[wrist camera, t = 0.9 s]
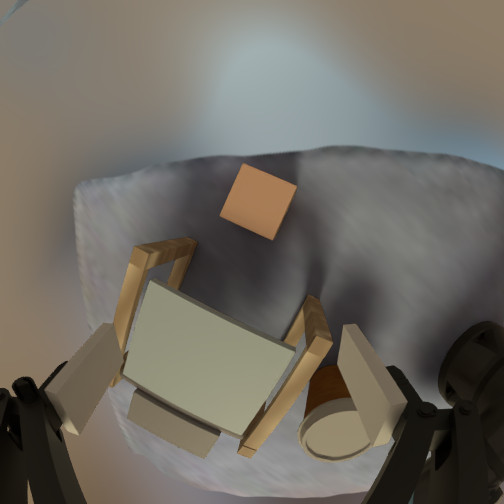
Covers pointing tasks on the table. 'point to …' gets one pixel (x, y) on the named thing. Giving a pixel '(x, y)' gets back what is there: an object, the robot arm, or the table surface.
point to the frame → (306, 320)
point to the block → (258, 201)
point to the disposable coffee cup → (331, 420)
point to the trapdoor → (198, 370)
